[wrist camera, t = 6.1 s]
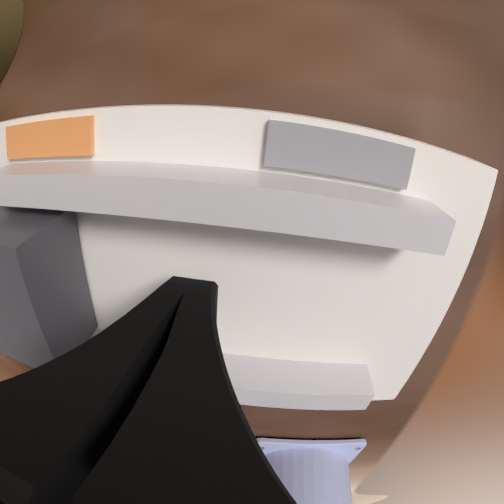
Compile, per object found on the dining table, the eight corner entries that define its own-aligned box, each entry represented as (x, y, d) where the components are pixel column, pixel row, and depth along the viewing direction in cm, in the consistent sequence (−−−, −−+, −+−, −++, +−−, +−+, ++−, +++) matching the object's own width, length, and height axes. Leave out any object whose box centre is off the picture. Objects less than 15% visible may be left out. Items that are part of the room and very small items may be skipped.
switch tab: (97, 325, 11) (64, 380, 8) (28, 306, 11) (-8, 348, 8) (75, 205, 8) (15, 248, 6) (0, 200, 8) (-53, 234, 6)
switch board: (385, 369, 14) (401, 425, 11) (56, 323, 14) (24, 366, 11) (467, 157, 9) (528, 185, 6) (19, 117, 9) (-43, 134, 6)
